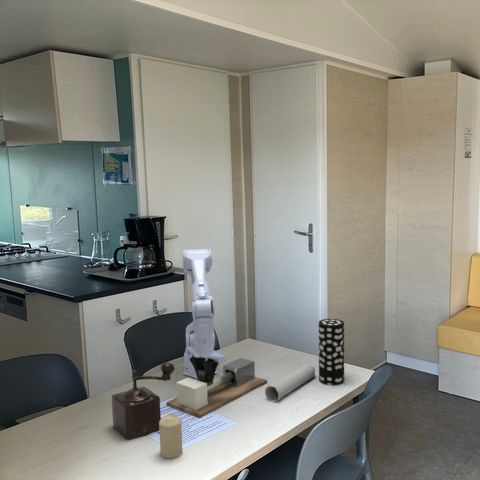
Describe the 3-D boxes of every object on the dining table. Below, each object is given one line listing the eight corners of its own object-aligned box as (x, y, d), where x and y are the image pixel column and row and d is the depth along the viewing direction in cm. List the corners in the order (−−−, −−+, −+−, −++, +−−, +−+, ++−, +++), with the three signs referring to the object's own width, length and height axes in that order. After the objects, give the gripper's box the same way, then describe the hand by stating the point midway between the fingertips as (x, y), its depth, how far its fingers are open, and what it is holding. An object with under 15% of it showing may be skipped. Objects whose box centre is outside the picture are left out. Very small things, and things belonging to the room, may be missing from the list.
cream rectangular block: (177, 403, 167) (176, 382, 166) (188, 397, 170) (188, 377, 169) (195, 410, 161) (195, 388, 161) (207, 404, 165) (206, 383, 164)
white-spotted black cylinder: (345, 377, 186) (346, 319, 183) (342, 386, 178) (342, 326, 176) (321, 374, 189) (321, 318, 186) (316, 383, 181) (316, 324, 178)
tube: (302, 362, 190) (262, 386, 170) (315, 360, 187) (276, 384, 167) (307, 377, 190) (267, 403, 170) (320, 376, 187) (281, 401, 167)
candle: (161, 448, 142) (159, 411, 141) (182, 447, 142) (181, 410, 141) (160, 459, 136) (158, 421, 135) (182, 458, 137) (180, 420, 136)
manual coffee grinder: (128, 441, 146) (125, 376, 143) (112, 426, 155) (108, 365, 152) (179, 424, 155) (177, 363, 152) (161, 411, 164) (158, 352, 161)
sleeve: (223, 383, 181) (222, 365, 180) (241, 374, 188) (240, 357, 187) (237, 387, 177) (236, 369, 176) (254, 378, 184) (254, 361, 183)
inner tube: (186, 398, 166) (185, 374, 165) (227, 379, 180) (227, 357, 179) (193, 401, 164) (192, 377, 163) (235, 381, 178) (234, 359, 177)
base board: (166, 405, 167) (166, 402, 167) (235, 373, 192) (234, 370, 192) (199, 417, 159) (199, 414, 158) (267, 382, 183) (267, 380, 183)
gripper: (177, 336, 170) (179, 378, 171) (212, 345, 160) (213, 390, 162) (194, 331, 175) (195, 372, 177) (228, 339, 166) (229, 382, 167)
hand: (205, 380), depth 170 cm, fingers open, 3 cm apart
